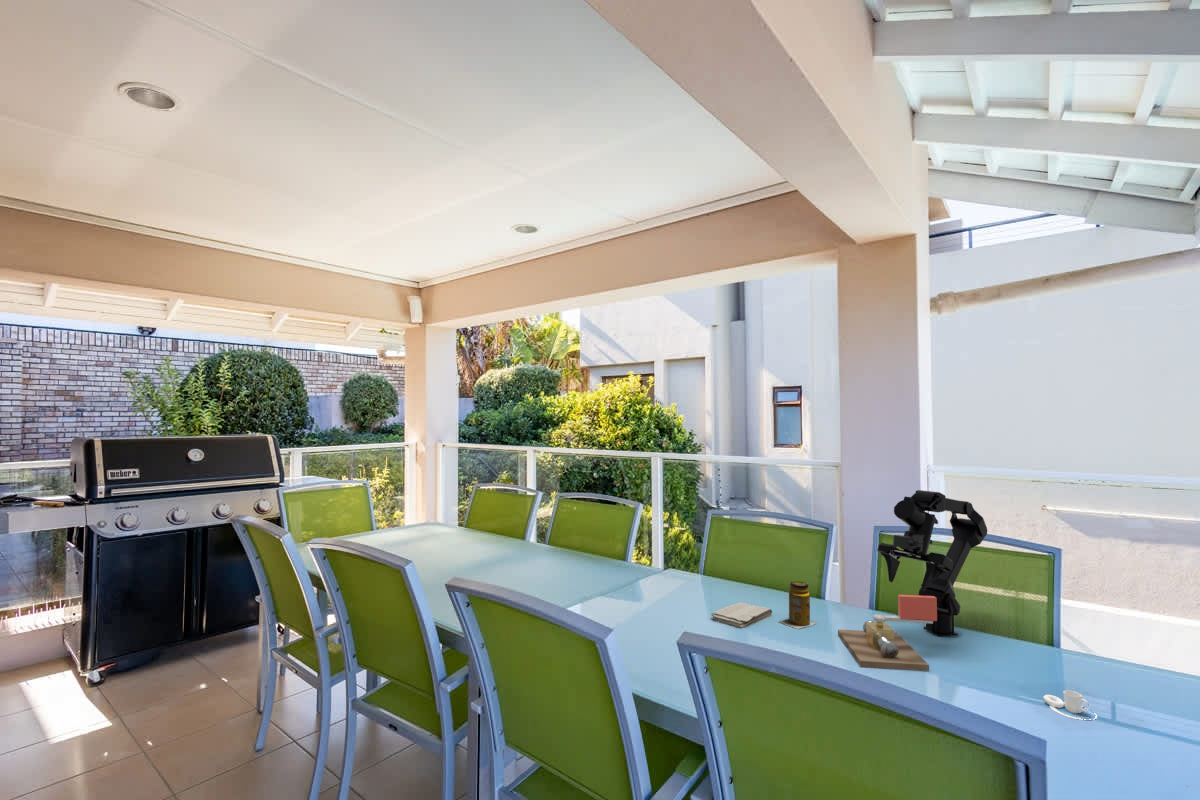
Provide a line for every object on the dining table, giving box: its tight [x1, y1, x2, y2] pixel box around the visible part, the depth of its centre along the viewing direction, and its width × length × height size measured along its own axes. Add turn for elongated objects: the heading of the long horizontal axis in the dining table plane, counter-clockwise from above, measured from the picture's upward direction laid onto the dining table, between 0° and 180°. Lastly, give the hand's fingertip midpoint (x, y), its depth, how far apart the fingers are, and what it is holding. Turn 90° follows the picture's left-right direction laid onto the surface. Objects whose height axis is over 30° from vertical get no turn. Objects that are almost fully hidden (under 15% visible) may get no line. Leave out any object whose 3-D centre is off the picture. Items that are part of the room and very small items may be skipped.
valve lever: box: [873, 594, 937, 624], centre depth 155 cm, size 15×3×7 cm, turn 81°
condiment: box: [778, 580, 817, 630], centre depth 177 cm, size 7×8×12 cm
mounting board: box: [837, 629, 930, 672], centre depth 155 cm, size 22×16×2 cm
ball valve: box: [862, 620, 899, 658], centre depth 155 cm, size 16×5×6 cm, turn 171°
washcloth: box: [710, 601, 773, 629], centre depth 182 cm, size 12×18×3 cm, turn 136°
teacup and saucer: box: [1043, 689, 1098, 721], centre depth 124 cm, size 9×8×4 cm
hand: (906, 585), depth 161 cm, fingers open, 9 cm apart
